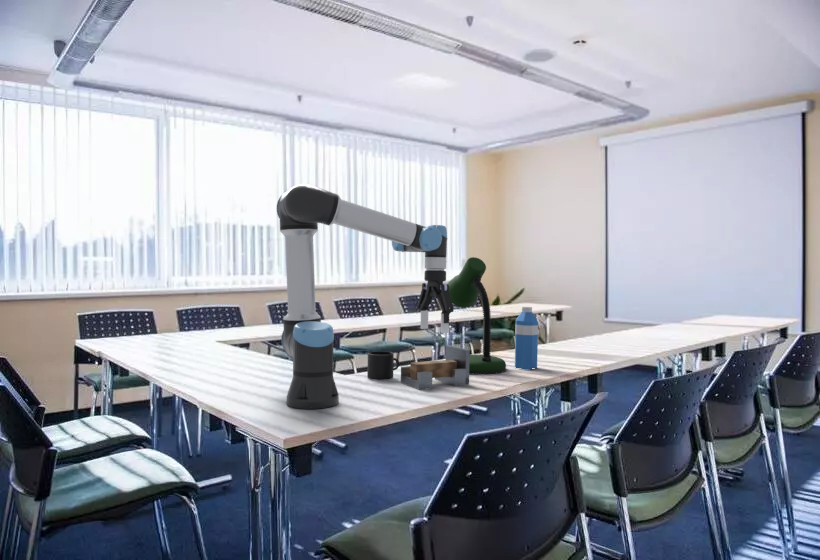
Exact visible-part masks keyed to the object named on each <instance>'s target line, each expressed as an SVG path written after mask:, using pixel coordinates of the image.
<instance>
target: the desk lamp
mask: <svg viewBox="0 0 820 560" xmlns="http://www.w3.org/2000/svg"><path fill="white" fill-rule="evenodd" d="M462 267H463V268H461V271H460V272H459V274H457V275H455V276H454V277H453V278H451V279H450V280H449V281H448V282H447V284H448V285H449V293H450V297H451V301H452V305H454V306H456V307H459V308H471V307H473V306H474V305H475V304H476V302H477V300H478V299H480V303H481V308H482V322H483V323H482V330H483V331H482V354H470V360H469V375H494V374H495V375H496V374H502V373H506V371H507V363H506V361H505V360H504V359H503V358H501V357H498V356H493V355H491V346H492V345H491V342H492V341H491V339H492V338H491V336H492V331H491V330H492V328H491V327H492V314H491V312H492V311H491V306H490V300H489V296H488V292H487V291H486V287H484V283H482V282H481V281H482V278H483V275H484V274H485V272H486V270H487V266H486V263H485V262H484V261H483V259H481V258H478V257H474V256H473V257H469V258H468V259H467V260H466V261H465V263H464V265H463V266H462ZM478 297H479V298H478Z"/></svg>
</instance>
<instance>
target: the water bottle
mask: <svg viewBox="0 0 820 560" xmlns="http://www.w3.org/2000/svg"><path fill="white" fill-rule="evenodd" d="M514 334H515V336H514V337H515V338H514V339H515V341H514V342H515V343H514V368H515V367H516V368H522V369H532V368H537V369H538V349H539V348H538V338H539V337H538V336H539V320H538V319H537V317H536V315H534V313H533V307H531V306H522V307H521V312H520V313H519V315H518V316H517V318H515V333H514ZM516 368H515V369H516ZM522 369H521V370H522Z"/></svg>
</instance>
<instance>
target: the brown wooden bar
mask: <svg viewBox="0 0 820 560" xmlns="http://www.w3.org/2000/svg"><path fill="white" fill-rule="evenodd" d="M409 364H410V365H409V366H410V377H411V378H414V379H417V372H428V371H431V372H432V379H435V378H438V377H450V376H452V370H453V369H457V362H456V361H453V360H446V359H441V360H440V359H439V360H428V361H416V362H415V361H414V362H410V363H409Z"/></svg>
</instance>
